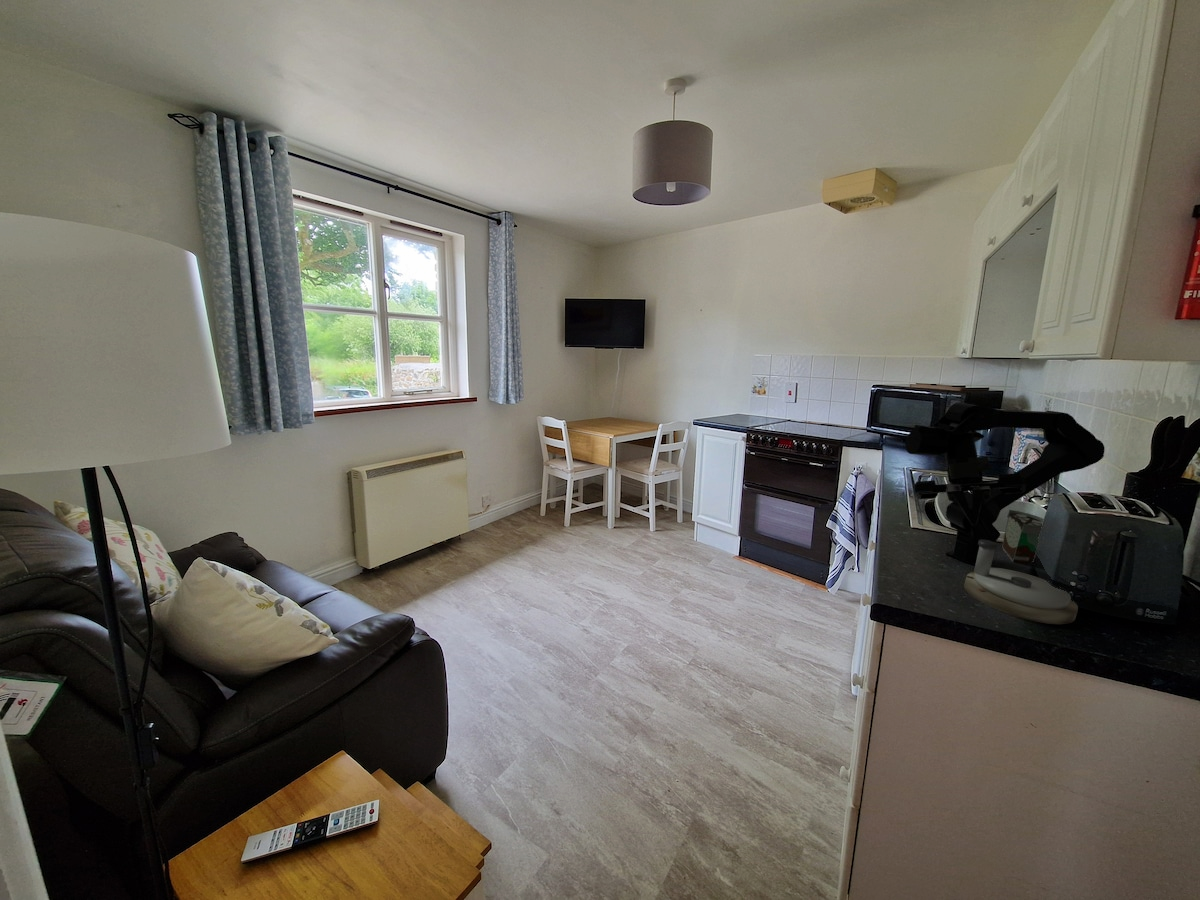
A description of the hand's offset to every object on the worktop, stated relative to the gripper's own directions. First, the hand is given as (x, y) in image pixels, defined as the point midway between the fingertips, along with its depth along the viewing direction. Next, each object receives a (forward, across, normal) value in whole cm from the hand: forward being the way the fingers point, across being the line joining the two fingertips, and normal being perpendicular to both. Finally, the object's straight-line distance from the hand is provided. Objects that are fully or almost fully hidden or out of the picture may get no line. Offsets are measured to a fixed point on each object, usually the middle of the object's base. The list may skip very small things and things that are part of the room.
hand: (974, 525), depth 96 cm
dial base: (+15, +4, +2) cm, 16 cm away
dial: (+13, +5, +1) cm, 14 cm away
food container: (+2, +8, +27) cm, 28 cm away
